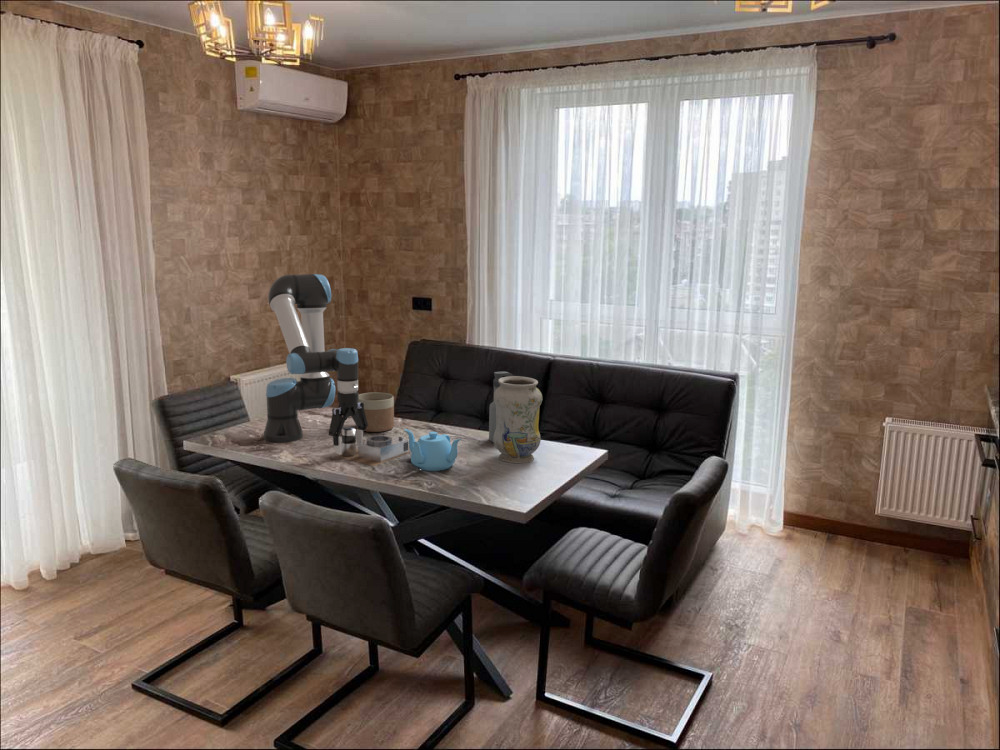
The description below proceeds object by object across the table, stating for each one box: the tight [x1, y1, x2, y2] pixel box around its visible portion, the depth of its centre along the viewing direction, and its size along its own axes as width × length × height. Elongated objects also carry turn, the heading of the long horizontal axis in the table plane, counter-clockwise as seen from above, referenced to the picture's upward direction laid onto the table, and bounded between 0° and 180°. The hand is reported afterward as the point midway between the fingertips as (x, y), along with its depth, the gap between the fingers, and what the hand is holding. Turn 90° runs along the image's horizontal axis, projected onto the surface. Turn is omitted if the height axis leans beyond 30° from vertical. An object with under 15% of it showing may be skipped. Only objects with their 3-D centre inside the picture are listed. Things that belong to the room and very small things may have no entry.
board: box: [335, 448, 411, 467], centre depth 278 cm, size 19×20×1 cm
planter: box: [355, 392, 395, 433], centre depth 318 cm, size 16×16×14 cm
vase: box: [493, 375, 543, 464], centre depth 278 cm, size 18×18×30 cm
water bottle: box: [488, 371, 515, 443], centre depth 302 cm, size 10×10×28 cm
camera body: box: [357, 434, 409, 462], centre depth 278 cm, size 11×15×6 cm
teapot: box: [404, 428, 461, 472], centre depth 270 cm, size 17×19×12 cm
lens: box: [341, 426, 357, 457], centre depth 276 cm, size 5×5×10 cm
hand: (349, 450), depth 277 cm, fingers open, 10 cm apart
